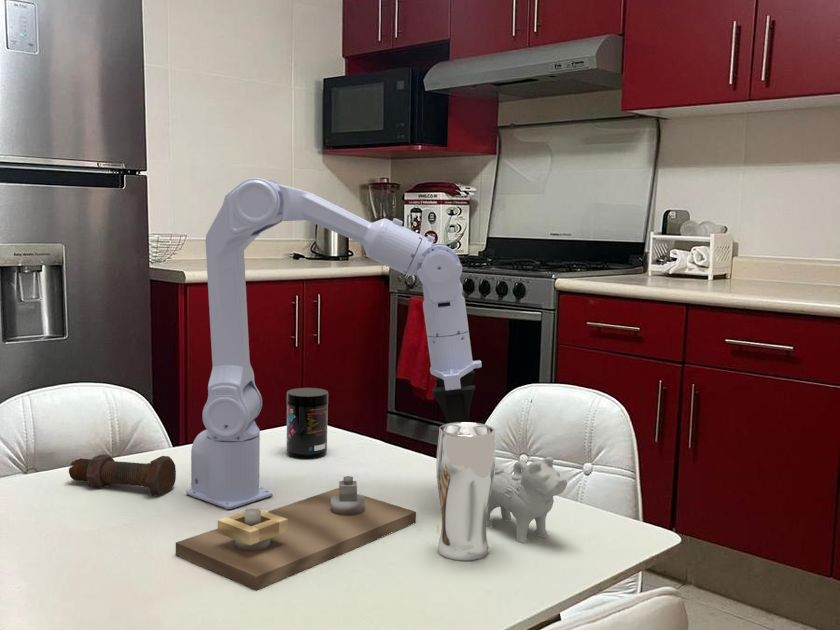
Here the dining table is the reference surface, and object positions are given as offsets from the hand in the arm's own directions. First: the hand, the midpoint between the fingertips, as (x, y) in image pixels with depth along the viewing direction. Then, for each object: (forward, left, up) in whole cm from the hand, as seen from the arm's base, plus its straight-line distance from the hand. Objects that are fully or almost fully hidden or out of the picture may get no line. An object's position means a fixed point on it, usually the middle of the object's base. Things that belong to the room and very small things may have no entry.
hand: (460, 430), depth 119 cm
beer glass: (+10, -13, -11) cm, 20 cm away
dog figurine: (+12, -3, -11) cm, 17 cm away
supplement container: (-33, +3, -11) cm, 35 cm away
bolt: (-40, -27, -11) cm, 49 cm away
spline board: (-7, -23, -11) cm, 26 cm away
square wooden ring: (-7, -31, -8) cm, 33 cm away
